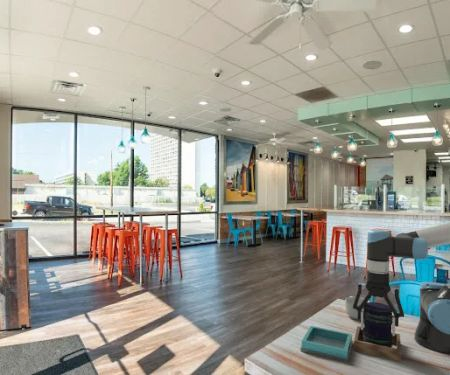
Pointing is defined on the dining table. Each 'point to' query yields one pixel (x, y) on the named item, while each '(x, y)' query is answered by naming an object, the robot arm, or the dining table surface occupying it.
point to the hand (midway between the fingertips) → (377, 331)
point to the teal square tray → (327, 343)
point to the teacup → (349, 306)
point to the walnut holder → (378, 347)
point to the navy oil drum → (377, 324)
